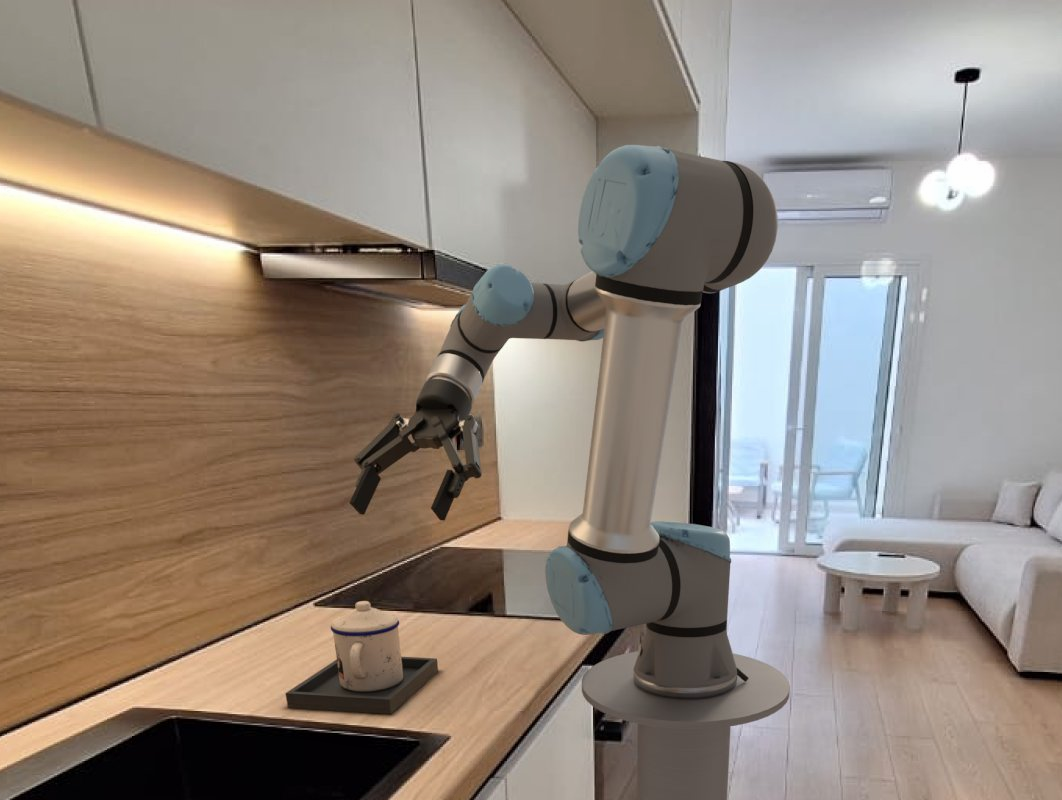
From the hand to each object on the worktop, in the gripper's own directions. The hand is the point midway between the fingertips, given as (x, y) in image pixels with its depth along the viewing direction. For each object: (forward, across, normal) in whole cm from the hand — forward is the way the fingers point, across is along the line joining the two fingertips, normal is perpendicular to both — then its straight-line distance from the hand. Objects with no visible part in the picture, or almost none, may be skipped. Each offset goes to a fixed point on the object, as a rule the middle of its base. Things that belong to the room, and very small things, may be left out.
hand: (396, 511), depth 113 cm
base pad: (+23, +2, -11) cm, 25 cm away
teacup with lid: (+22, +1, -10) cm, 25 cm away
